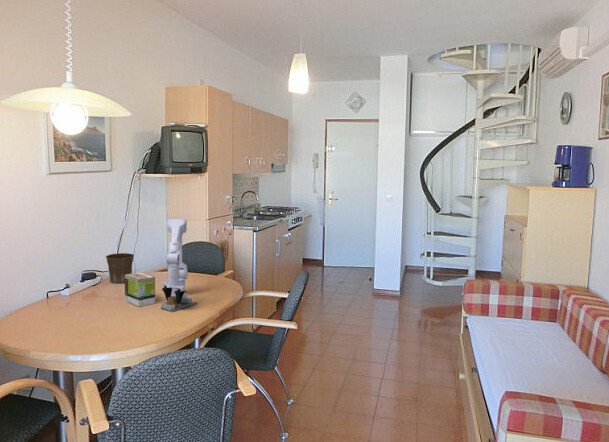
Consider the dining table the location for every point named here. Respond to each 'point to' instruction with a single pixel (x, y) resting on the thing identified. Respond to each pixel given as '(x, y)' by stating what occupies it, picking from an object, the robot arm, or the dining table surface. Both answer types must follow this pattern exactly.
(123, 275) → the plant pot
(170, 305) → the vise
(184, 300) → the block
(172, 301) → the block
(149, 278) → the tea box
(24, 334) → the dining table surface
